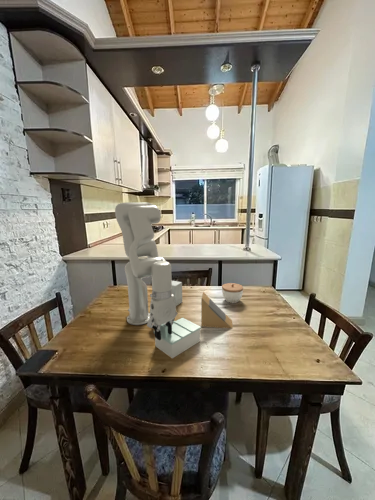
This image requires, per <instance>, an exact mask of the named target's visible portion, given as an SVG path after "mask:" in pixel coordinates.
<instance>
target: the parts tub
mask: <svg viewBox="0 0 375 500" xmlns="http://www.w3.org/2000/svg"><path fill="white" fill-rule="evenodd" d="M200 341H201V329H199V330H198V331H196V332H194V333H192V334H191V335H189V336H187V337H185V338H184V339H182V340H180V341H178V342H177V343H175V344H173V345H171V344H169V343H168V342H166V341H165V340H163V339H162V338H161V340H158V339H157V338H155V337H154V345H155V347H156V348H158V350H160V351H161V352H163V353H164V354H166V355H167V356H168V357H170V358H171V359H174V358H175V357H177V356H178V355H180V354H182V353H184V352H185V351H187V350H188V349H190V348H192V347H193V346H195V345H197V344H198V343H199V342H200Z"/></svg>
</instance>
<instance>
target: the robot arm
mask: <svg viewBox="0 0 375 500" xmlns="http://www.w3.org/2000/svg"><path fill="white" fill-rule="evenodd" d="M114 215H115V218H116V221H117V224H118V226H119V228H120V231H121V234H122V240H123V247H124V251H125V255H126V257H128V259H129V261H128V262H127V263H126V264H125V266H124V272H125V277H126V283H127V293H128V306H129V308H128V309H127V311H128V313H129V315H128V316H126V321H127V323H128V324H129V325H133V326H141V325H145V324H146V326H147V327H148V328H150V329H153V334H154V333H155V334H154V339H155V338H157V339H158V340H161V331H160V325H162V324H164V323H166V322H167V323H166V326H168V333H169V334H170V335H171V334H172V325H173V321H175V320H174V319H175V318H176V317H177V316H178V311H177V306H176V304H175V299H174V295H173V294H172V281H173V280H172V265H171V263H170V262H169V261H167V260H166V258H164V257H162V256H159V251H158V247H157V242H156V241H155V239H154V238H155V231H154V229H153V227H152V225H153V224H155V225H156V224H159V223H160V221H161V219H162V213H161V210H160V209H159V207H158V206H157V205H155V204H154V203H151V202H148V201H147V202H145V201H144V202H142V201H141V202H140V201H139V202H136V201H135V202H133V201H132V202H129V201H128V202H127V201H126V202H120V203H118V204H116V206H115V208H114ZM142 257H147V258H142ZM146 278H151V289H152V290H151V294H149V295H150V296H149V297H150V305H149V297H148V285H147V284H146V282H145V281H144V280H143V279H146ZM153 322H154V324H153ZM156 325H157V327H156Z"/></svg>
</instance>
